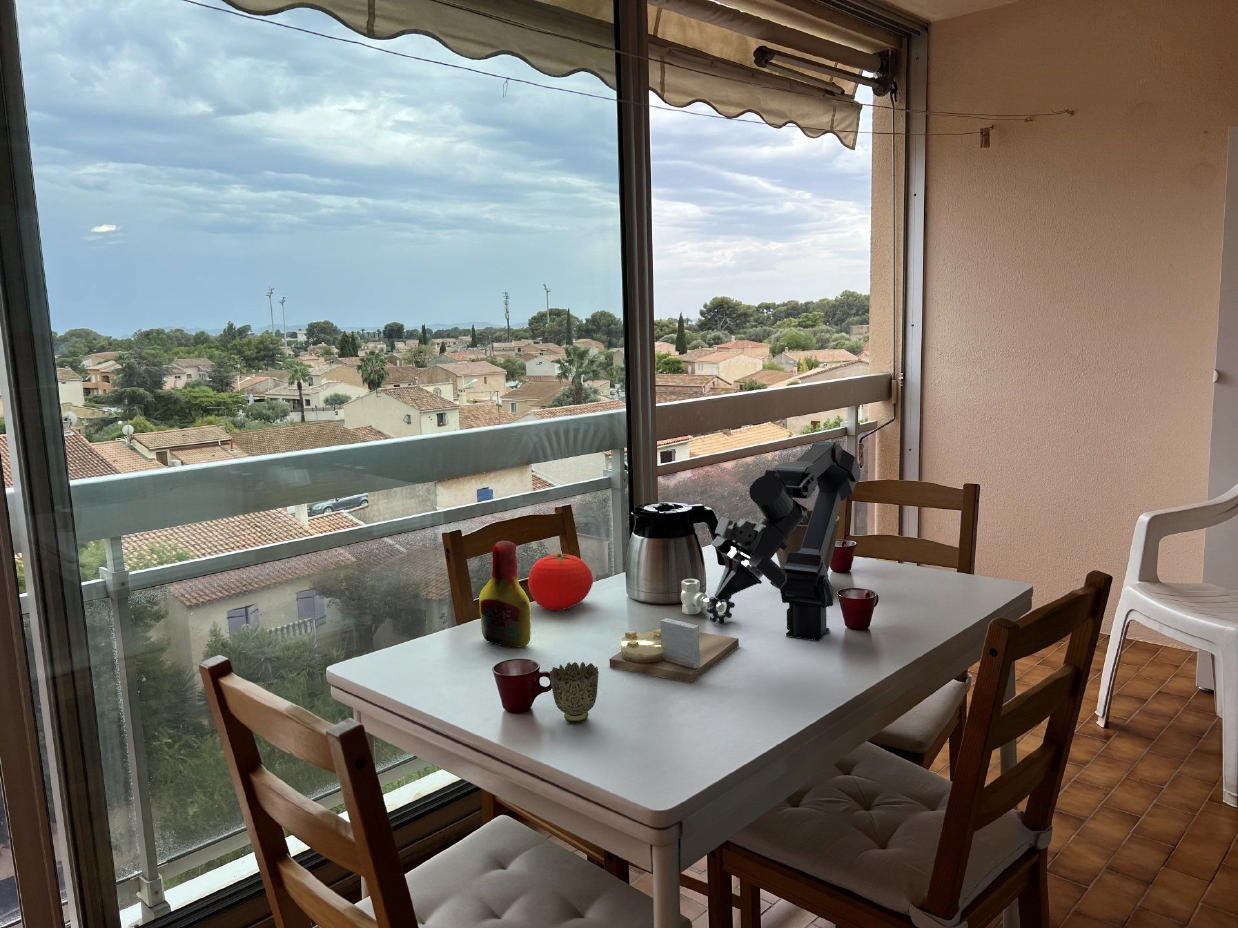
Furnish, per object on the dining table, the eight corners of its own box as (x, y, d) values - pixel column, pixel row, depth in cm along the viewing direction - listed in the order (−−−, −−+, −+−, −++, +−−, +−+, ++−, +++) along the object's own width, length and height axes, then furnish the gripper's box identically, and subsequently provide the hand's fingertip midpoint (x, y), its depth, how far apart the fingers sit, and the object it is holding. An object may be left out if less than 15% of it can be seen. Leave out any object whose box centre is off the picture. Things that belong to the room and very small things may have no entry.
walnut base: (738, 646, 166) (738, 638, 166) (691, 682, 150) (690, 674, 150) (662, 633, 175) (662, 625, 174) (609, 666, 159) (609, 658, 159)
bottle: (541, 645, 171) (535, 541, 168) (516, 655, 166) (509, 549, 163) (499, 632, 179) (493, 533, 176) (474, 641, 174) (467, 540, 171)
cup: (551, 711, 141) (549, 662, 140) (599, 708, 142) (596, 659, 141) (552, 732, 134) (549, 681, 133) (602, 729, 135) (599, 677, 133)
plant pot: (846, 596, 193) (846, 523, 190) (776, 599, 193) (775, 525, 191) (831, 577, 208) (831, 508, 205) (766, 579, 208) (764, 511, 205)
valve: (672, 612, 187) (709, 627, 177) (671, 581, 186) (708, 595, 176) (697, 606, 191) (735, 620, 181) (696, 576, 190) (734, 588, 180)
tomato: (545, 595, 202) (542, 544, 200) (601, 600, 197) (599, 548, 196) (518, 613, 191) (515, 559, 189) (577, 618, 186) (575, 563, 184)
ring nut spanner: (610, 655, 159) (609, 616, 158) (643, 640, 166) (642, 603, 165) (680, 675, 149) (679, 634, 148) (712, 658, 156) (711, 619, 155)
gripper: (720, 490, 163) (665, 557, 162) (769, 509, 146) (707, 584, 144) (760, 528, 167) (706, 594, 165) (812, 551, 150) (753, 625, 148)
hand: (717, 598), depth 156 cm, fingers closed
